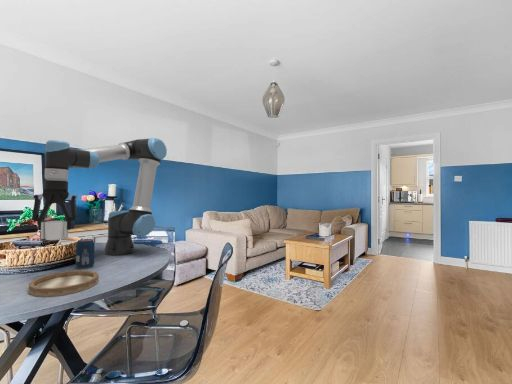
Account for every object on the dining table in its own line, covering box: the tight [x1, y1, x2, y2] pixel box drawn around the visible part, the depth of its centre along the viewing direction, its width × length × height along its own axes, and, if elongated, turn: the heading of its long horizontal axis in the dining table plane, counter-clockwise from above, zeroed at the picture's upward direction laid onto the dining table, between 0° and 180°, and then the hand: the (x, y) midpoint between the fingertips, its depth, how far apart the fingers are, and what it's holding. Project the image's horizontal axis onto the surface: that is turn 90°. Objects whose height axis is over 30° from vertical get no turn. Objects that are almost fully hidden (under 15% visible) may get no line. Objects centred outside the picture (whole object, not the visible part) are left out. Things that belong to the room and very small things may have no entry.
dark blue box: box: [75, 238, 96, 270], centre depth 117 cm, size 7×7×12 cm
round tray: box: [28, 269, 100, 298], centre depth 95 cm, size 20×20×2 cm
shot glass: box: [43, 219, 67, 241], centre depth 104 cm, size 7×7×7 cm
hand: (54, 238), depth 103 cm, fingers closed on shot glass, 7 cm apart
